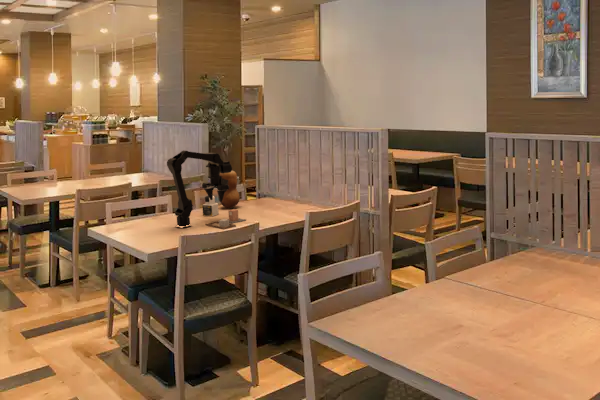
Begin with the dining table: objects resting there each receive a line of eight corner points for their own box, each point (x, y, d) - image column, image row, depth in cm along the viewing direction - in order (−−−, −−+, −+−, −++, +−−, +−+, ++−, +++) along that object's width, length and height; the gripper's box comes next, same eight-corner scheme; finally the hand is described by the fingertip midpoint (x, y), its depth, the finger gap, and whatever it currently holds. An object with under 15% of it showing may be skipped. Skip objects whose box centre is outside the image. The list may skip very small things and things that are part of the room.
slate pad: (232, 223, 343) (232, 222, 343) (221, 221, 350) (221, 220, 350) (245, 220, 350) (245, 219, 350) (235, 218, 357) (234, 217, 357)
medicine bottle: (202, 215, 369) (201, 196, 367) (209, 213, 375) (208, 194, 373) (212, 216, 366) (211, 197, 364) (218, 214, 372) (217, 195, 370)
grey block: (224, 228, 333) (224, 221, 333) (219, 227, 336) (218, 220, 335) (229, 226, 337) (229, 219, 336) (224, 225, 339) (223, 219, 338)
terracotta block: (238, 219, 350) (238, 209, 349) (233, 221, 348) (232, 210, 346) (234, 219, 353) (233, 209, 352) (228, 220, 350) (228, 210, 349)
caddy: (223, 229, 330) (223, 227, 330) (205, 225, 341) (205, 223, 341) (235, 226, 336) (235, 224, 336) (217, 222, 347) (217, 221, 347)
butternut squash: (244, 207, 392) (242, 169, 388) (228, 210, 383) (226, 172, 378) (230, 205, 402) (228, 168, 397) (214, 208, 392) (212, 170, 387)
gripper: (235, 173, 347) (237, 200, 350) (215, 171, 360) (217, 197, 363) (220, 176, 340) (222, 203, 342) (200, 173, 353) (202, 199, 355)
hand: (216, 200), depth 351 cm, fingers open, 9 cm apart
